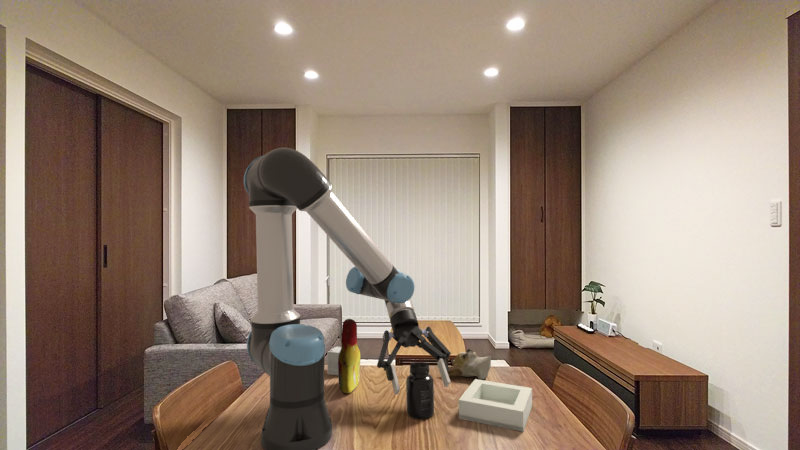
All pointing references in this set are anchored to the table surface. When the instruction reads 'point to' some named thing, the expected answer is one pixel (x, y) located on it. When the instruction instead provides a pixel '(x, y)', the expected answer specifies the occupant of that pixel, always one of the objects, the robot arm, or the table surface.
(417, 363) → the supplement bottle
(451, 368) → the ceramic sculpture
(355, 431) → the table surface
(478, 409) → the holder
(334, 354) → the skincare box
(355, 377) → the bottle
